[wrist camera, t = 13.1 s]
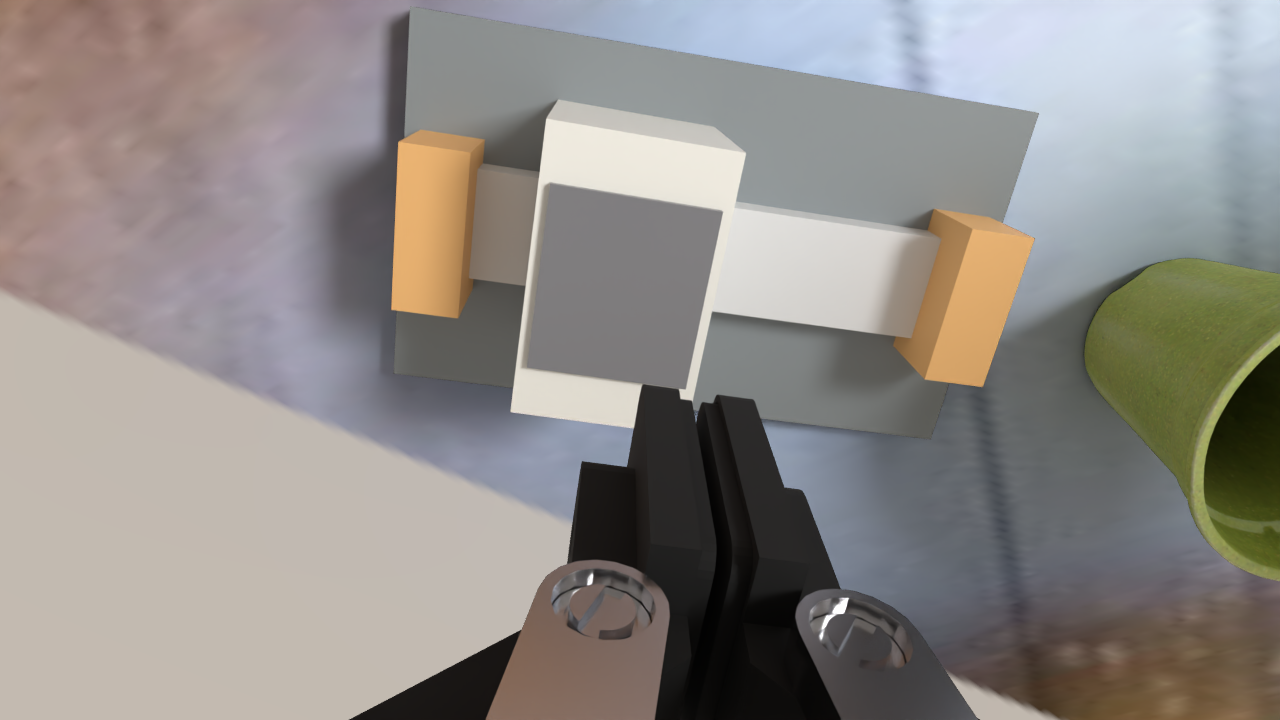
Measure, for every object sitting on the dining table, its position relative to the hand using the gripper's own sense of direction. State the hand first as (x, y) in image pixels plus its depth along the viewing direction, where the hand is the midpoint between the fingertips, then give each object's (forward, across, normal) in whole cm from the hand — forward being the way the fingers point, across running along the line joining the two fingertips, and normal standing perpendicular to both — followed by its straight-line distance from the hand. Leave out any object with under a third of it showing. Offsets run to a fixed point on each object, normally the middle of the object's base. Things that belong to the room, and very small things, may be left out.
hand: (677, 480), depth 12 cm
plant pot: (+18, -20, +1) cm, 27 cm away
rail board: (+17, -2, 0) cm, 17 cm away
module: (+16, +1, 0) cm, 16 cm away
